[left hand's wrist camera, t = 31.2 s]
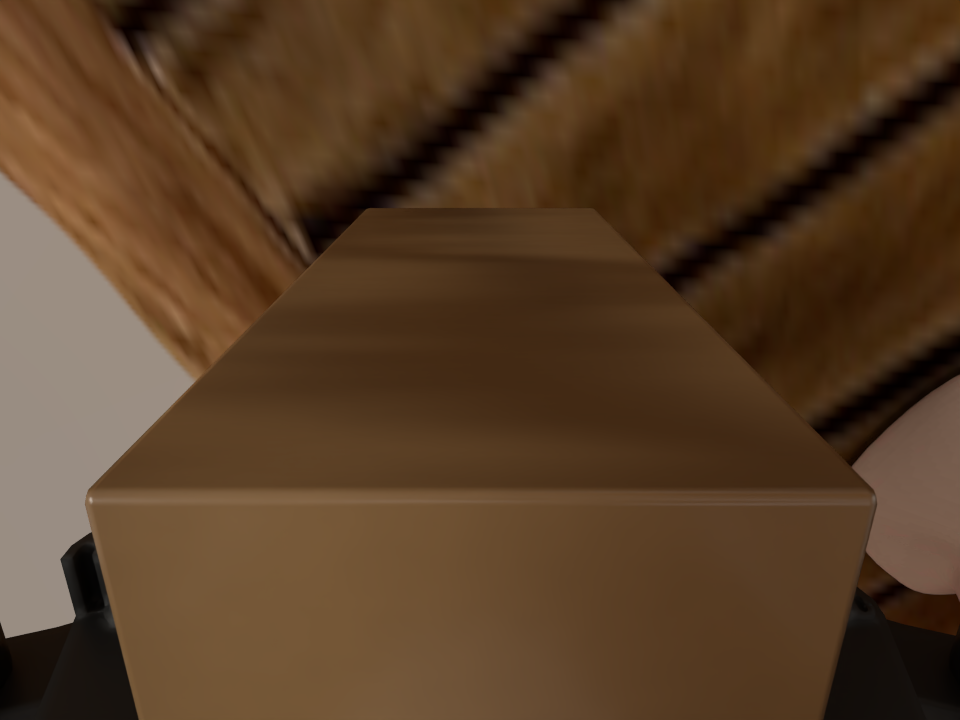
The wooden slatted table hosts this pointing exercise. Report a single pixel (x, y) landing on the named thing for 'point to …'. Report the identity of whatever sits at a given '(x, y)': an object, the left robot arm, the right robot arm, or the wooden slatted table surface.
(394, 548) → the brick
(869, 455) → the anatomical model
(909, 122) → the wooden slatted table surface
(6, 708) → the left robot arm
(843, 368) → the wooden slatted table surface
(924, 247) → the wooden slatted table surface
